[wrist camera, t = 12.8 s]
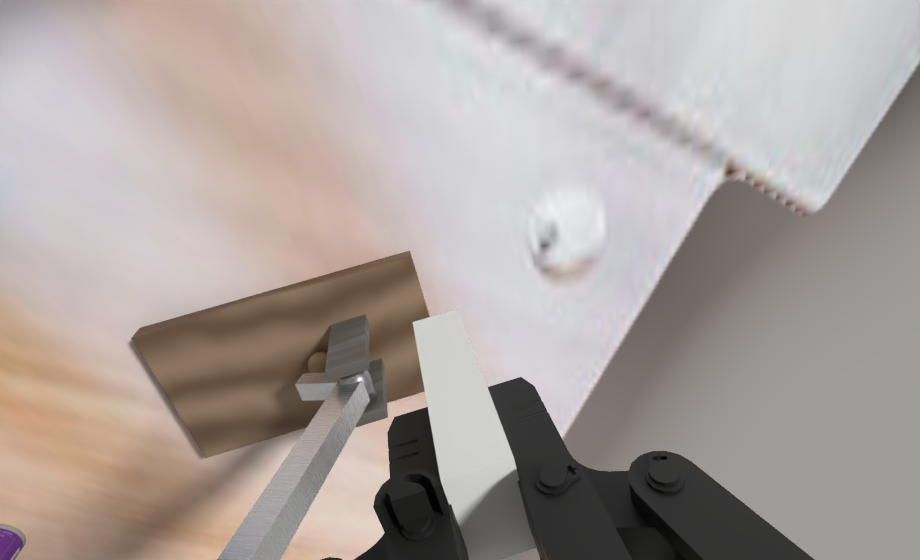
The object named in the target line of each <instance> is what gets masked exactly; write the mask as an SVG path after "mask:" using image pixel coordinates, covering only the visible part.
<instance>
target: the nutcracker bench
mask: <svg viewBox="0 0 920 560" xmlns="http://www.w3.org/2000/svg"><path fill="white" fill-rule="evenodd" d="M428 317H430V316H429V313H428V310H427V306H426V303H425V300H424V296H423V293H422V290H421V287H420V283H419V280H418V277H417V273H416V270H415V267H414V263H413V260H412V257H411V254H410V251H407V252H404V253H400V254H397V255H393V256H390V257H386V258H383V259H379V260H376V261H372V262H369V263H365V264H362V265H358V266H355V267H351V268H348V269H344V270H341V271H337V272H334V273H330V274H327V275H323V276H320V277H317V278H313V279H310V280H306V281H303V282H299V283H296V284H292V285H289V286H285V287H282V288H278V289H275V290H271V291H268V292H264V293H261V294H257V295H254V296H250V297H247V298H243V299H240V300H236V301H233V302H229V303H226V304H222V305H219V306H215V307H212V308H208V309H205V310H201V311H198V312H194V313H191V314H187V315H184V316H180V317H177V318H174V319H170V320H167V321H163V322H160V323H156V324H153V325H149V326H146V327H142V328H140V329H139V330H138V331H137V332H136V333H135V335H134V336H133V337H132V340H133V341H134V343H135V345H136V346H137V348H138V349H139V351H140V353H141V354H142V356H143V357H144V359H145V361H146V362H147V364H148V366H149V367H150V369H151V370H152V372H153V374H154V375H155V377H156V378H157V380H158V382H159V383H160V385H161V386H162V388H163V390H164V391H165V393H166V394H167V396H168V398H169V399H170V401H171V402H172V404H173V406H174V407H175V409H176V411H177V412H178V414H179V415H180V417H181V419H182V420H183V422H184V423H185V425H186V427H187V428H188V430H189V431H190V433H191V435H192V436H193V438H194V439H195V441H196V443H197V444H198V446H199V448H200V449H201V451H202V452H203V454H204V456H205V457H206V458H207V457H210V456H214V455H217V454H220V453H224V452H227V451H230V450H233V449H237V448H240V447H243V446H247V445H250V444H253V443H256V442H260V441H263V440H266V439H269V438H273V437H276V436H279V435H283V434H286V433H289V432H292V431H296V430H299V429H302V428H306V427H307V426H308V425H309V423H310V422H311V420H312V419H313V418H314V416H315V415H316V413H317V412H318V410H319V409H320V407H321V406H322V404H323V403H324V401H325V400H311V401H302V398H301V396H300V394H299V392H298V390H297V388H296V386H295V384H296V382H297V381H298V380H299V378H300V377H301V376H302V375H303V374H306V373H326V374H327V377H328V379H329V381H332V380H336V379H339V378H342V377H346V376H349V375H352V374H356V373H359V372H362V371H366V370H369V373H370V375H371V378H372V380H373V383H374V386H375V388H376V391H377V393H378V399H377V400H376V402H375V403H374V404H373V405H371V406H370V407H368V408H366V409H365V410H364V412H363V414H362V415H361V417H360V419H359V421H358V422H357V424H356V426H355V427H358V426H361V425H365V424H368V423H371V422H374V421H378V420H381V419H384V418H387V417H388V413H387V403H388V402H391V401H394V400H397V399H401V398H404V397H407V396H411V395H414V394H417V393H420V392H424V391H425V390H424V384H423V378H422V373H421V367H420V361H419V356H418V350H417V344H416V339H415V333H414V327H413V322H415V321H418V320H422V319H425V318H428Z"/></svg>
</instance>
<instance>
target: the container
mask: <svg viewBox="0 0 920 560" xmlns="http://www.w3.org/2000/svg"><path fill="white" fill-rule="evenodd" d="M25 542H26V539H25V536H24V534H23V533H22V532H21V531H20V530H18V529H16V528H14V527H12V526H8V525H2V524H0V560H14V559H15V558H16V557H17V555H18V554H19V552H20V551H21V550H22V548H23V547H24V545H25Z"/></svg>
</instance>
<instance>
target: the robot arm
mask: <svg viewBox="0 0 920 560" xmlns="http://www.w3.org/2000/svg"><path fill="white" fill-rule="evenodd" d="M413 327H414V333H415V339H416V344H417V350H418V356H419V361H420V367H421V373H422V378H423V384H424V390H425V395H426V401H427V407H426V408H423V409H420V410H416V411H413V412H410V413H407V414H403V415H400V416H397V417H394V420H393V422H392V424H391V426H390V429H389V431H388V448H389V462H390V464H389V467H390V479H389V480H388V481H386V482H385V483H384V484H383V485H382V486H381V488H380V490H379V491H378V493H377V494H376V496H375V501H374V506H373V507H374V509H375V512H376V514H377V516H378V518H379V521H380V523H381V525H382V527H383V529H384V532H385V533H384V535H383V536H382V537H381V539H380V540H379V541H378V542H377V543H376V544H375V545H374V546H373V547H371V548H370V549H369V550H368V551H366V552H365V553H363V554H362V555H360V556H359V557H357V558H356V559H354V560H499V559H503V558H506V557H509V556H512V555H515V554H518V553H521V552H524V551H527V550H530V549H533V548H536V547H537V550H538V553H539V556H540V560H814V559H813V558H812V557H810V556H809V555H808V554H807V553H805V552H804V551H803V550H802V549H800V548H799V547H798V546H797V545H795V544H794V543H793V542H791V541H790V540H789V539H788V538H786V537H785V536H784V535H783V534H781V533H780V532H779V531H778V530H776V529H775V528H774V527H772V526H771V525H770V524H769V523H768V522H766V521H765V520H764V519H762V518H761V517H760V516H759V515H757V514H756V513H755V512H754V511H753V510H751V509H750V508H749V507H748V506H746V505H745V504H744V503H743V502H741V501H740V500H739V499H737V498H736V497H735V496H734V495H732V494H731V493H730V492H729V491H727V490H726V489H725V488H724V487H722V486H721V485H720V484H719V483H717V482H716V481H715V480H714V479H712V478H711V477H710V476H709V475H707V474H706V473H705V472H704V471H702V470H701V469H700V468H699V467H697V466H696V465H695V464H693V463H692V462H691V461H689V460H688V459H686V458H684V457H682V456H681V455H678V454H675V453H671V452H667V451H653V452H649V453H646V454H643V455H641V456H639V457H638V458H637V459H636V460H635V461H634V462H632V464H631V466H630V469H629V471H613V472H608V471H597V470H593V469H589V468H587V467H585V466H583V465H581V464H579V463H578V462H577V461H576V460H574V459H573V457H572V456H571V455H570V454H569V452H568V450H567V448H566V446H565V444H564V442H563V440H562V438H561V436H560V435H559V433H558V431H557V429H556V427H555V425H554V423H553V421H552V419H551V417H550V415H549V413H548V412H547V410H546V408H545V406H544V404H543V402H542V401H541V398H540V396H539V394H538V392H537V391H536V389H535V387H534V386H533V385H532V384H530V383H529V382H527V381H526V380H524V379H523V378H522V377H520V378H516V379H513V380H510V381H507V382H503V383H500V384H497V385H494V386H490V387H487V385H486V382H485V379H484V377H483V374H482V371H481V369H480V366H479V363H478V361H477V358H476V355H475V353H474V350H473V347H472V345H471V342H470V339H469V337H468V334H467V331H466V329H465V326H464V323H463V321H462V318H461V315H460V313H459V310H458V309H456V310H452V311H449V312H445V313H442V314H439V315H435V316H432V317H428V318H425V319H422V320H418V321H415V322H413ZM322 560H342V559H340V558H331V557H329V558H325V559H322Z"/></svg>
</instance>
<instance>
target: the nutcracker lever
mask: <svg viewBox="0 0 920 560" xmlns="http://www.w3.org/2000/svg"><path fill="white" fill-rule="evenodd" d="M295 386H296V388H297V390H298V392H299V394H300V396H301V398H302V401H311V400H325V401H324V403H323V404H322V406H321V407H320V409H319V410H318V412H317V413H316V415H315V416H314V418H313V419H312V420H311V422H310V423H309V425H308V426H307V428H306V429H305V431H304V432H303V434H302V435H301V437H300V438H299V440H298V441H297V443H296V444H295V446H294V447H293V448H292V450H291V451H290V453H289V454H288V456H287V457H286V459H285V460H284V462H283V463H282V465H281V466H280V468H279V469H278V471H277V472H276V474H275V475H274V476H273V478H272V479H271V481H270V482H269V484H268V485H267V487H266V488H265V490H264V491H263V493H262V494H261V496H260V497H259V499H258V500H257V502H256V503H255V504H254V506H253V507H252V509H251V510H250V512H249V513H248V515H247V516H246V518H245V519H244V521H243V522H242V524H241V525H240V527H239V528H238V530H237V531H236V532H235V534H234V535H233V537H232V538H231V540H230V541H229V543H228V544H227V546H226V547H225V549H224V550H223V552H222V553H221V555H220V556H219V558H218V559H217V560H280V559H281V557H282V555H283V554H284V552H285V550H286V548H287V547H288V545H289V543H290V541H291V540H292V538H293V536H294V534H295V532H296V531H297V529H298V527H299V525H300V524H301V522H302V520H303V518H304V516H305V515H306V513H307V511H308V509H309V508H310V506H311V504H312V502H313V501H314V499H315V497H316V495H317V493H318V492H319V490H320V488H321V486H322V485H323V483H324V481H325V479H326V477H327V476H328V474H329V472H330V470H331V469H332V467H333V465H334V463H335V461H336V460H337V458H338V456H339V454H340V453H341V451H342V449H343V447H344V446H345V444H346V442H347V440H348V438H349V437H350V435H351V433H352V431H353V430H354V428H355V426H356V424H357V422H358V421H359V419H360V417H361V415H362V414H363V412H364V410H365V409H366V408H368V407H370V406H371V405H373V404H374V403H375V402H376V400H377V399H378V393H377V391H376V388H375V386H374V383H373V380H372V378H371V375H370V373H369V370H366V371H362V372H359V373H356V374H352V375H349V376H346V377H342V378H339V379H336V380H332V381H329V379H328V377H327V374H326V373H306V374H303V375H302V376H301V377H300V378H299V380H298V381H297V382H296V384H295Z"/></svg>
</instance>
